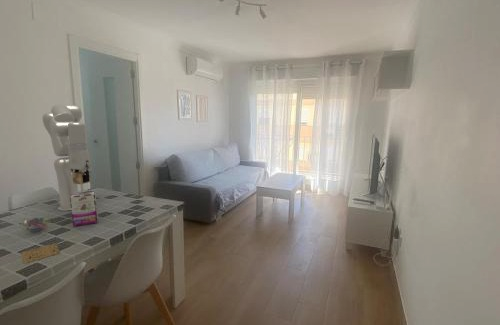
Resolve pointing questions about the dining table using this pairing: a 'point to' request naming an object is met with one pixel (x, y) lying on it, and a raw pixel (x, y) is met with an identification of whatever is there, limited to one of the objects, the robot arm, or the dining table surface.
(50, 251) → the cookie
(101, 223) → the dining table surface
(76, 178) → the oak block
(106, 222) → the dining table surface
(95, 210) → the candy bar box
